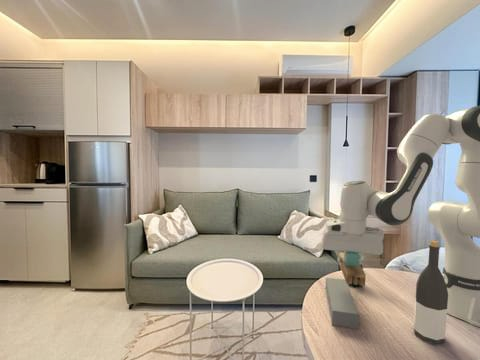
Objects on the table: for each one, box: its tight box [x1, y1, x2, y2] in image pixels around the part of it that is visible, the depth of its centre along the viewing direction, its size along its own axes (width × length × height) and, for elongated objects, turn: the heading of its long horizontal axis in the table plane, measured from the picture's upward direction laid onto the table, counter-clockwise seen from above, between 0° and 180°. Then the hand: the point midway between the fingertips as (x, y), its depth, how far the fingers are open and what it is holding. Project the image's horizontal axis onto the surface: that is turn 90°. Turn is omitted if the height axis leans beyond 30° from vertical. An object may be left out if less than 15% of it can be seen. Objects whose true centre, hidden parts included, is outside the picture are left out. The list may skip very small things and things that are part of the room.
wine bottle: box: [413, 240, 448, 346], centre depth 77 cm, size 8×8×30 cm
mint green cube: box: [345, 252, 361, 267], centre depth 89 cm, size 4×4×4 cm
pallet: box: [338, 251, 367, 287], centre depth 91 cm, size 6×20×4 cm, turn 166°
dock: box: [325, 277, 360, 330], centre depth 93 cm, size 8×24×5 cm, turn 166°
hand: (350, 263), depth 91 cm, fingers closed on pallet, 6 cm apart
